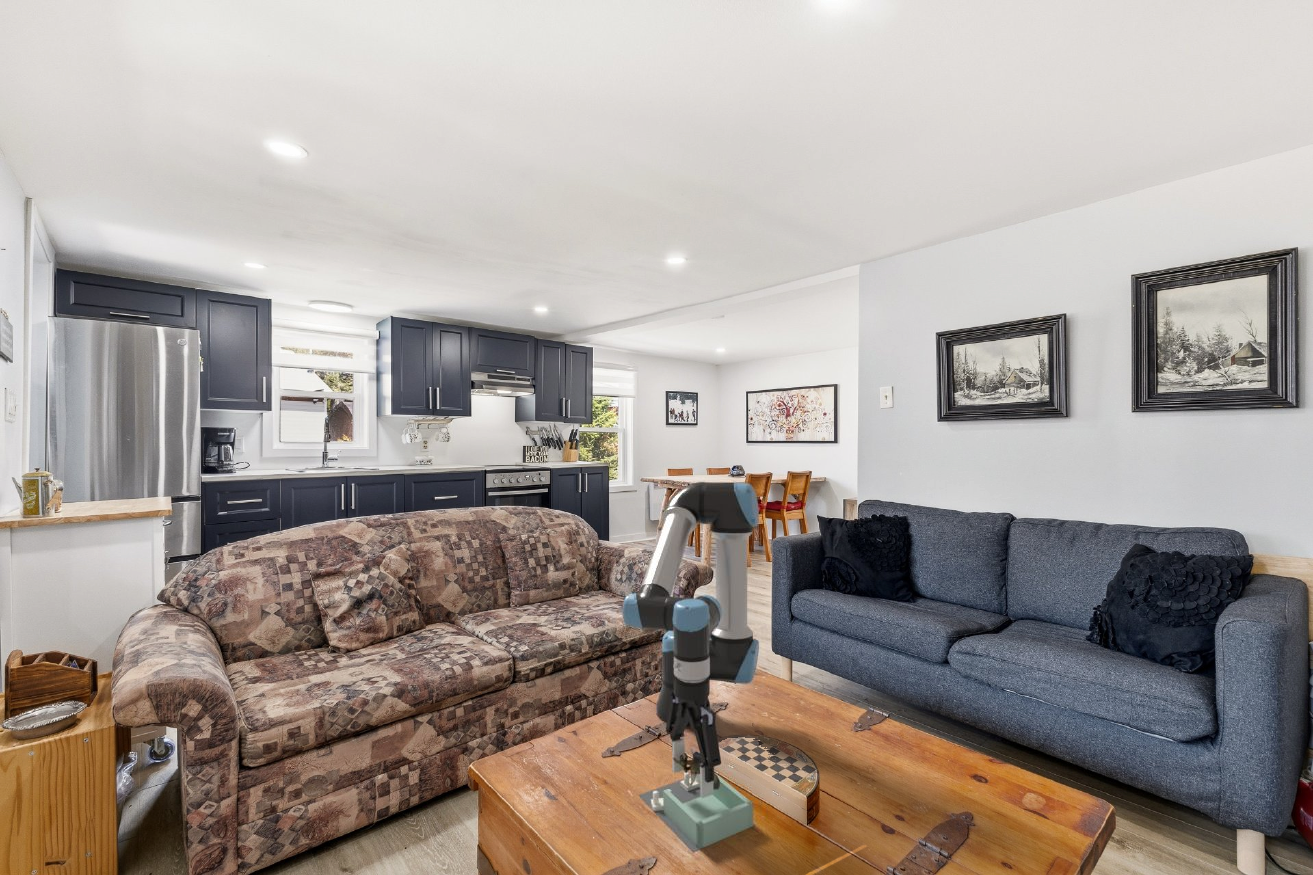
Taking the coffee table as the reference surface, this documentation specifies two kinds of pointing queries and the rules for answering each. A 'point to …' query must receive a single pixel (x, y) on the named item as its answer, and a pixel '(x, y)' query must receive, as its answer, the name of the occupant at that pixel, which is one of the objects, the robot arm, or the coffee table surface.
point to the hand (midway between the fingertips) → (692, 782)
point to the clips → (658, 802)
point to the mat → (683, 798)
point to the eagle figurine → (695, 767)
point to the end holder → (710, 814)
